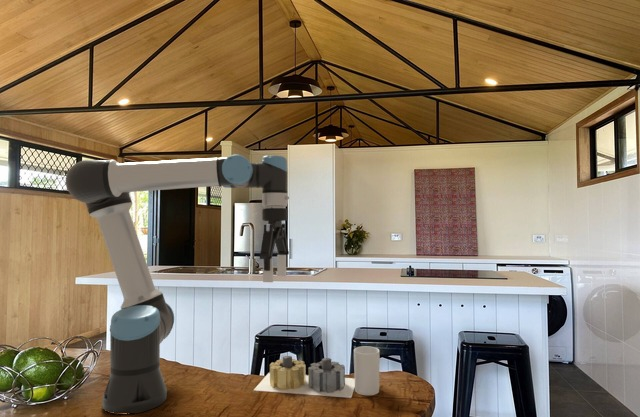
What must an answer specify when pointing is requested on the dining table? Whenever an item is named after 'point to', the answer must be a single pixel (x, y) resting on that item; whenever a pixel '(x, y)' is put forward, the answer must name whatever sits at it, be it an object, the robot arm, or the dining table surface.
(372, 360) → the mug
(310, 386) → the gear
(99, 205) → the robot arm
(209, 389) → the dining table surface
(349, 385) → the board
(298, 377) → the gear
